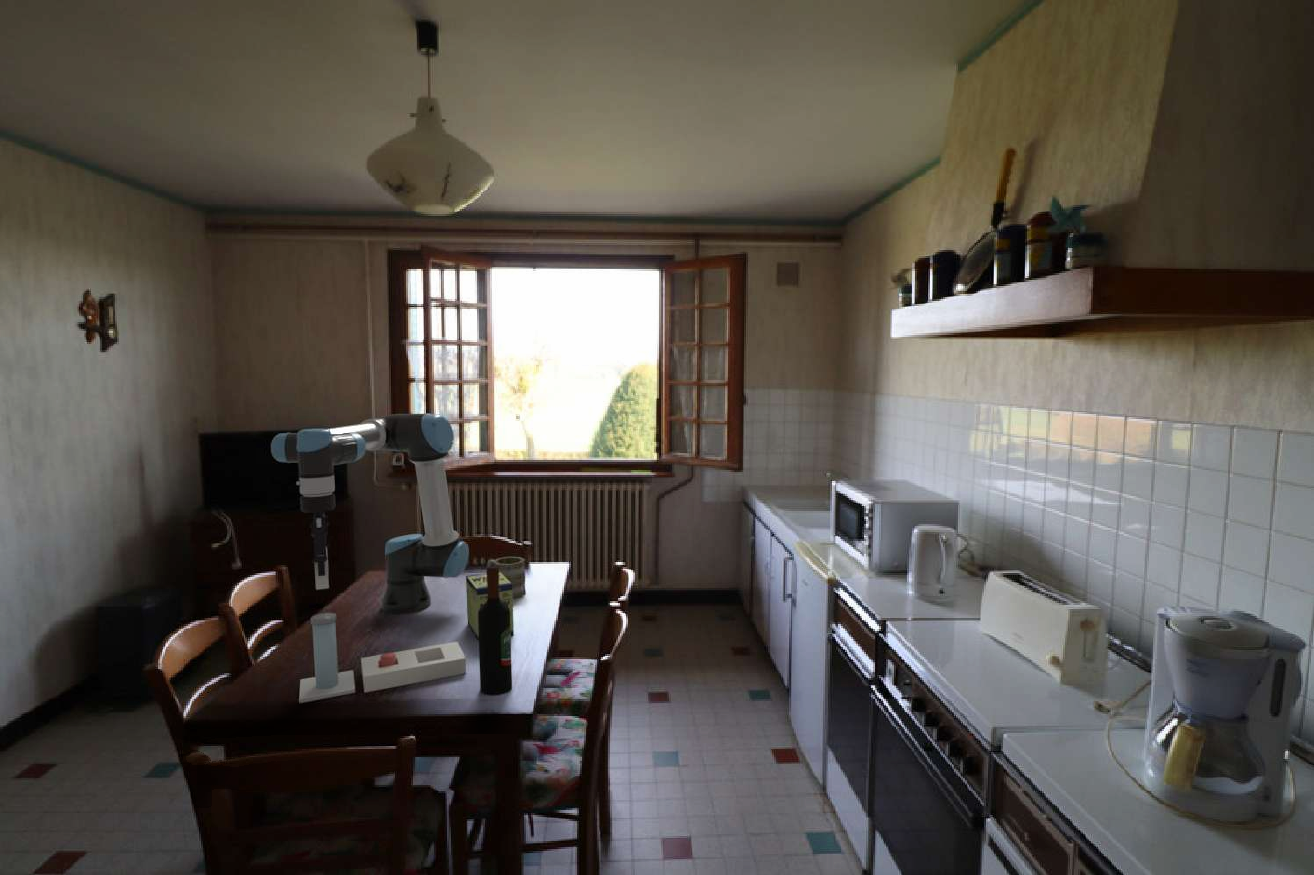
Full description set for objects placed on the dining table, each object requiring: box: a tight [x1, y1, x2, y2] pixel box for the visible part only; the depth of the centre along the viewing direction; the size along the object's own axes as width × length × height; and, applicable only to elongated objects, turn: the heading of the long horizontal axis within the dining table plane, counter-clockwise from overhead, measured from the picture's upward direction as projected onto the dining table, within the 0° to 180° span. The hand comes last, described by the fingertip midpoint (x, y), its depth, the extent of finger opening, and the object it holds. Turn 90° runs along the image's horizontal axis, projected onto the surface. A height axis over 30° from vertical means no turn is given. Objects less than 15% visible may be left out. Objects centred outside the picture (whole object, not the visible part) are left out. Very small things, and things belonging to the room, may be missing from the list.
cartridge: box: [310, 612, 339, 689], centre depth 169 cm, size 6×6×17 cm
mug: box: [486, 556, 527, 600], centre depth 240 cm, size 16×11×12 cm
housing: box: [360, 641, 467, 693], centre depth 177 cm, size 12×24×4 cm, turn 116°
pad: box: [298, 669, 356, 704], centre depth 169 cm, size 12×12×1 cm
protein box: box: [465, 572, 515, 642], centre depth 206 cm, size 10×16×16 cm
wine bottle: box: [478, 565, 513, 696], centre depth 167 cm, size 8×8×30 cm
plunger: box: [380, 652, 396, 667], centre depth 174 cm, size 4×4×4 cm
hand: (322, 580), depth 167 cm, fingers open, 13 cm apart
